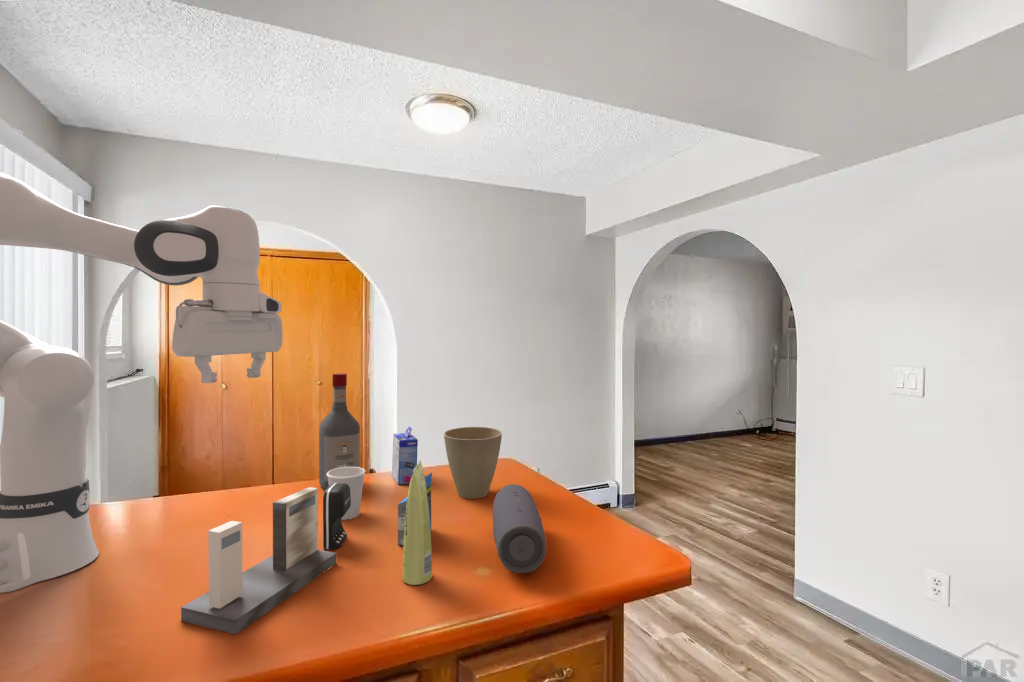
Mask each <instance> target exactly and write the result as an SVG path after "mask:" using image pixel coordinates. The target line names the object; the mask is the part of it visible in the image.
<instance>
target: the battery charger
mask: <svg viewBox="0 0 1024 682" xmlns="http://www.w3.org/2000/svg"><path fill="white" fill-rule="evenodd" d="M350 506H351V495H350V487H349V485H348V484H345V483H333V484H331V485H330V486H329V487H328V488H327V489H326V490H324V493H323V496H322V526H323V527H322V529H323V530H322V531H323V533H322V534H323V535H322V537H323V538H322V539H323V542H322V543H323V544H322V545H323V547H322V548H323V549H324V550H326V551H328V550H337V549H340V548H341V547H342V545H344V542H345V541H346V539H347V538H348V533H347V532H346V530H345V529H344V526H343V523H342V522H343V520H342V517H343V516H344V515H345V514H346V512H347V511H348V509H349V508H350Z"/></svg>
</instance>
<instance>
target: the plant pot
mask: <svg viewBox="0 0 1024 682" xmlns="http://www.w3.org/2000/svg"><path fill="white" fill-rule="evenodd" d="M502 437H503V432H502V430H500V429H497V428H493V427H488V426H487V427H485V426H463V427H455V428H450V429H448V430H445V431H444V432H443V439H444V447H445V452H446V457H447V462H448V466H449V471H450V473H451V477H452V479H453V483H454V485H455V489H456V491H457V493H458V496H460V498H463V499H469V500H471V499H472V500H474V499H481V498H484V497H486V496H487V495H488V493H489V491H490V488H491V484H492V483H493V479H494V476H495V472H496V469H497V465H498V460H499V456H500V450H501V444H502V439H503V438H502Z"/></svg>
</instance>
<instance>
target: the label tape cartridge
mask: <svg viewBox="0 0 1024 682" xmlns="http://www.w3.org/2000/svg"><path fill="white" fill-rule="evenodd" d="M432 476H433V472H430V473H429V474H427V476H424V477H425V483H426V491H427V499H428V508H429V518H430V531H431V530H432V479H433V477H432ZM407 498H408V496H406V497H405V498H404V499H403V500H401V501H400V502H399V503H398V504H397V545H398V546H399V545H401V546H400V547H404V528H405V515H406V506H407Z"/></svg>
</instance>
